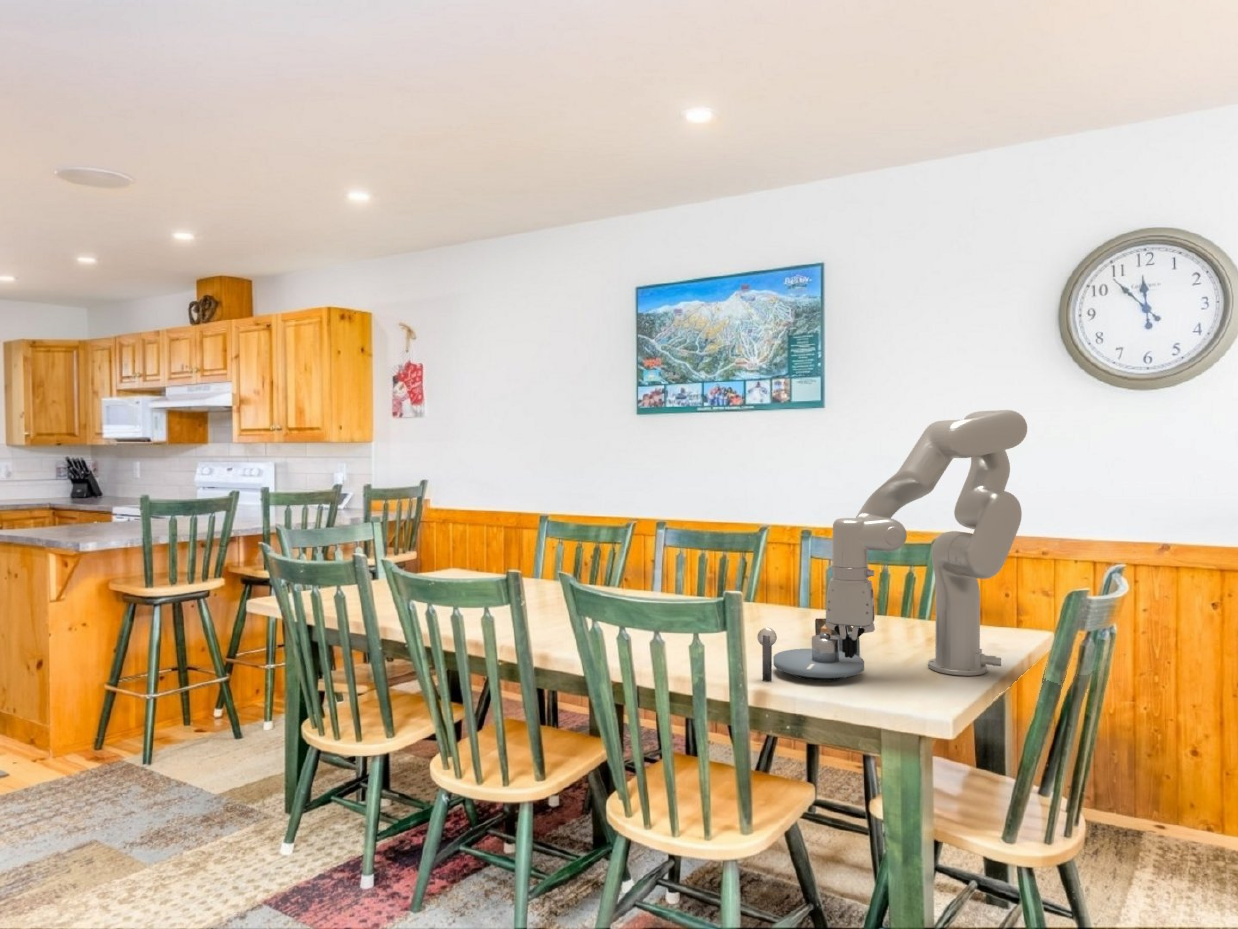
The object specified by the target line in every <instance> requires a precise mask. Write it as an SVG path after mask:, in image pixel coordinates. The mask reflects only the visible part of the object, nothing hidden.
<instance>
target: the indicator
mask: <svg viewBox="0 0 1238 929" xmlns="http://www.w3.org/2000/svg"><path fill="white" fill-rule="evenodd" d="M777 636H778V635H777V633H776V631H775V630H774V629H773V628H771V627H763V628H762V629H760V630H759V631H758V633H757V641H758V643H759V644H760V645H761V648H762V649H761V650H762V661H761V662H762V664H761V666H762V681H763V682H772V680H773V679H772V678H773V673H772V671H773V669H772V668H773V667H772V666H773V664H772V663H773V660H772V659H773V658H772V657H773V655H772V654H773V651H772V649H773V648H772V647H773V645H774V644H776V642H777V639H778V638H777Z"/></svg>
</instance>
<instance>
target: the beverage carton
mask: <svg viewBox="0 0 1238 929" xmlns="http://www.w3.org/2000/svg"><path fill="white" fill-rule="evenodd" d="M825 624H826V618H815V621H814V629H815V635H820V633H821V628H822V627H823V626H824V625H825ZM847 629H848V635H849V637H851V636H852V630H853V626H847ZM831 635H832V636H836V637H838V638H839V651H842V639H841V637H840V635H839V634H838V633H837V632H836V631H835V630H832V629H831ZM860 644H861V642H860V637H858V638H857V654H855V655H857V656H859V657H860V655H861V654H860V650H861V649H860V648H861V647H860Z"/></svg>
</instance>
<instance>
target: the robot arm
mask: <svg viewBox="0 0 1238 929" xmlns="http://www.w3.org/2000/svg"><path fill="white" fill-rule="evenodd" d="M1027 434H1028V424H1027V420H1026V419H1025V417H1024V416H1023V415H1022V414H1020V413H1019V412H1017V411H1015V410H1012V409H1001V410H1000V409H998V410H981V411H975V412H972V413H969V414H967V415H966V416H965V417H964V418H963V419H948V420H947V419H945V420H944V419H943V420H938V421H934V422H932V423H931V424H929V425H927V427H926V428H925V430H923V432H922V434H921V435H920V437H919V438H918V440H917V441H916V443H915V445H914V446H913V448H912V450H911V451H910V452H909V454H908V456H907V457H906V459H904V461H903V464H902V465H901V467H900V468H899V469H898V471H896V473H895V474H893V475H892V476H891V477H890V478H889V479H887V480H886V481H885V482H884V483H883V484H882V485H881V486H880V487H878V488H877V489H875V491H874V492H872V493H871V495H870V496H869V497H868V498H867V499H866V500H865V502H864V504H863V505H862V507H861V508H860V510H859V511H858V513H857V515H856V517H842V518H838V519H835V520H834V522H832V523H833V524H832V577H831V578H830V579H829V581H828V585H827V586H828V587H827V592H826V603H825V604H826V605H825V619H826V624H825V627H826V628H829V629H832V630H835V631H836V632H837V633H838V634H839V635H840V637H841V639H842V652H843V653H845V657H850V658H853V656H854V655H855V654H857V638H858V637H859V638H860V637H861V636H862V635H863V634H867V633H873V632H874V631H875V630H876V628H875V619H876V616H875V615H876V614H875V597H874V589H873V588H874V587H873V583H872V580H870V579H869V578H870V577H875V570H872V569H870V568H869V564H868V562H869V560H868V558H869V557H868V554H869V553H868V552H869V551H875V552H882V553H883V552H885V553H890V552H894V551H895V552H896V551H897V550H900V549H901V548H903V546H904V545H905V543H906V541H907V530H906V528H905V526H904V525H903V524H902V523H901V522H900V521H899V520H897V519H895V518H892V517H893V516H894V515H895V514H896V513H897V512H898V511H899V510H901V509H902V508H903V507H905V506H906V505H908V504H910V503H912V502H914V501H916V500H919V499H922V498H924V497H925V496H927V495H929V494H930V493H931V492H932V491H934V489H935V488H936V486H937V484H938V483H939V481H940V479H941V478H942V476H943V475H944V472H945V471H946V470H947V468H948V467H949V465H950V464H951V462H952V461H953V459H969V458H970V467H969V471H968V474H967V477H966V478H965V480H964V481H965V482H964V483H963V486H962V488H961V491H960V494H959V496H958V498H957V501H956V503H955V506H954V510H953V512H954V513H953V514H954V518H955V520H956V522H957V523H958V524H959V525H961V526H962V527H965V528H967V529H971V530H974V531H973V533H972V532H971V533H970V532H966V531H965V532H964V531H957V530H950V531H946V532H944V533H941V534H940V535H938V537H936V538H935V540H934V542H933V544H932V547H931V562H932V567H933V573H934V580H935V581H934V582H935V583H934V584H935V636H934V637H935V640H934V641H935V644H934V645H935V655H934V656H935V658H931V659H930V660H928V661H927V662H928V663H927V666H928V668H929V669H930V670H932V671H934V672H937V673H941V674H946V675H952V676H953V675H954V676H965V677H967V676H968V677H969V676H971V677H972V676H979V675H980V676H981V675H984V674H986V673H987V672H988V667H987V666H993V667H1002V657H997V655H987V654H985V653H983V649H982V648H981V644H980V643H981V639H980V638H981V590H980V589H981V588H980V585H979V581H978V579H980V580H986V579H991V578H993V577H995V576H996V575H997V574H999V573H1000V571H1001V570H1002V568H1003V567H1004V564H1005V562H1006V560H1007V558H1008V556H1009V553H1010V551H1011V548H1012V546H1013V543H1014V540H1015V538H1016V536H1017V533H1018V531H1019V528H1020V525H1021V522H1022V516H1023V515H1022V507H1021V504H1020V501H1019V500H1018V497H1016V495H1014V494H1012V493H1011V492H1009V491H1006V490H1005V489H1006V487H1007V484H1008V482H1009V481H1008V480H1009V478H1010V473H1011V465H1010V464H1011V463H1010V460H1009V459H1010V458H1009V456H1008V453H1007V451H1006V450H1010V449H1013V448H1015V447H1017V446H1019V445H1020V444H1021V443H1022V442H1023V441H1024V440H1025V438H1026V437H1027ZM847 626H851V627H852V628H853V630H852V636H851V637H849V635H848V629H847Z"/></svg>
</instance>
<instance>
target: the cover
mask: <svg viewBox="0 0 1238 929" xmlns="http://www.w3.org/2000/svg"><path fill="white" fill-rule="evenodd" d="M811 649H812V660H813V661H815V662H819V663H836V662H839V638H838V637H836V636H832V635H831V633H828V632H821V633H820V635H816V634H815V635H812V636H811Z"/></svg>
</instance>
